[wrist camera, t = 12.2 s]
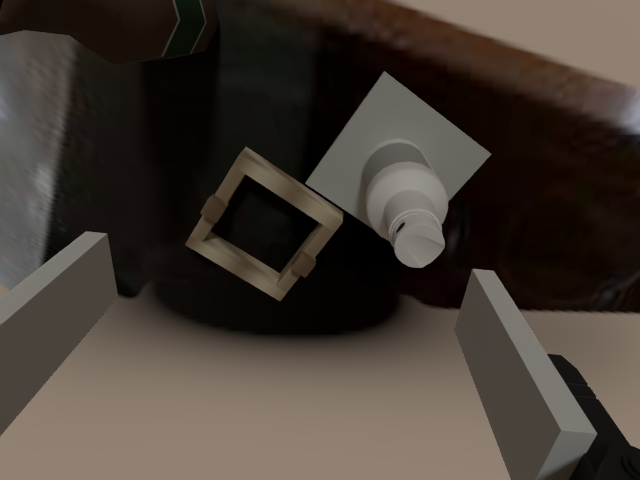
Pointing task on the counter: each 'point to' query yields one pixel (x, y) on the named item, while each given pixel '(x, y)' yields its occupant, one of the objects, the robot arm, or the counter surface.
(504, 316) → the robot arm
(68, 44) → the counter surface
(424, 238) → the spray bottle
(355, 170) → the mat
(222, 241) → the wooden square frame
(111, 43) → the beer bottle
